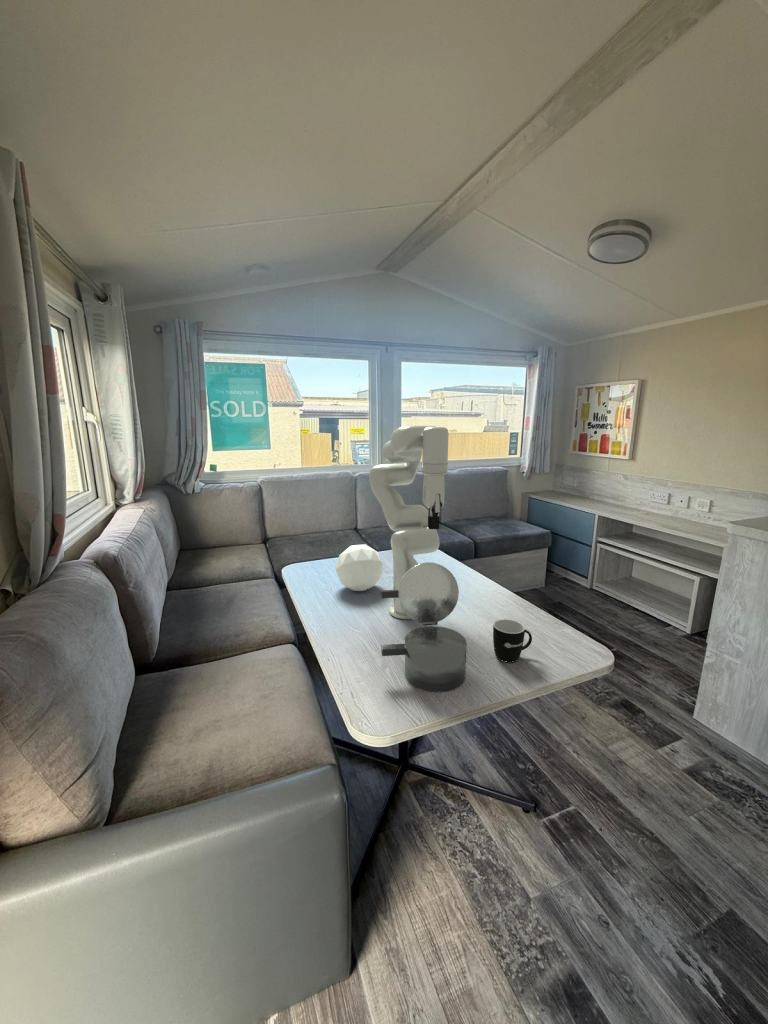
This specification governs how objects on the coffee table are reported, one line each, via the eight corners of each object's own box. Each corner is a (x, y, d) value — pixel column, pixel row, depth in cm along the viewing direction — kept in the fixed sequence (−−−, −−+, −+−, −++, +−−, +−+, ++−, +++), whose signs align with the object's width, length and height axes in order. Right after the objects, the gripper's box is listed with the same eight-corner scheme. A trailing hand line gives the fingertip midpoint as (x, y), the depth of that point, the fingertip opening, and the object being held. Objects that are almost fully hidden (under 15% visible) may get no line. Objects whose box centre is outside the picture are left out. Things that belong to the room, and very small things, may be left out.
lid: (382, 628, 123) (381, 625, 126) (459, 624, 126) (456, 621, 128) (380, 564, 122) (380, 563, 125) (458, 562, 125) (456, 560, 127)
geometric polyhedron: (355, 608, 175) (331, 580, 163) (346, 576, 191) (324, 548, 179) (395, 586, 174) (374, 556, 162) (383, 556, 190) (363, 526, 178)
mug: (499, 666, 122) (501, 634, 120) (486, 650, 131) (488, 620, 128) (537, 662, 124) (540, 631, 122) (523, 647, 133) (525, 617, 130)
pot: (378, 659, 126) (378, 628, 123) (456, 655, 128) (457, 624, 126) (384, 696, 109) (384, 661, 107) (473, 690, 112) (475, 655, 109)
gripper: (417, 466, 133) (416, 523, 137) (427, 472, 119) (426, 535, 123) (441, 466, 134) (439, 522, 138) (453, 471, 119) (451, 534, 123)
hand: (433, 528), depth 130 cm, fingers closed
